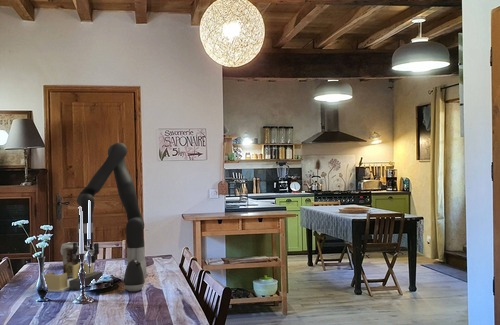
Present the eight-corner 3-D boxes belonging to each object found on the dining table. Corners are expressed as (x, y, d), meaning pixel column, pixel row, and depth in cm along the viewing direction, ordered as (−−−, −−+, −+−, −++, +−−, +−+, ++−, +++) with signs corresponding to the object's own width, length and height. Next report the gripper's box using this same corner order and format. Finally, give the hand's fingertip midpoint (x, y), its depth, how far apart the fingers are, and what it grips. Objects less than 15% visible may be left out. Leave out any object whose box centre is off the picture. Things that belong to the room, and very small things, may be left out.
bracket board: (96, 278, 268) (96, 263, 268) (61, 291, 239) (61, 275, 239) (77, 277, 271) (77, 263, 271) (41, 290, 242) (40, 274, 242)
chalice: (60, 266, 304) (59, 243, 304) (83, 264, 310) (82, 241, 310) (61, 270, 291) (61, 246, 292) (85, 268, 297) (85, 244, 297)
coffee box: (83, 275, 278) (82, 246, 278) (78, 277, 272) (77, 248, 272) (68, 275, 279) (67, 247, 279) (62, 277, 272) (62, 248, 273)
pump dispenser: (131, 294, 231) (130, 262, 231) (119, 290, 238) (118, 260, 238) (149, 289, 239) (148, 259, 239) (137, 286, 246) (136, 256, 246)
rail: (102, 281, 262) (102, 271, 262) (78, 291, 241) (77, 281, 241) (94, 280, 263) (94, 271, 264) (69, 290, 242) (69, 280, 242)
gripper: (101, 231, 255) (101, 261, 254) (78, 230, 259) (78, 260, 258) (93, 232, 247) (93, 264, 247) (69, 232, 251) (69, 263, 251)
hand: (85, 262), depth 253 cm, fingers open, 8 cm apart
